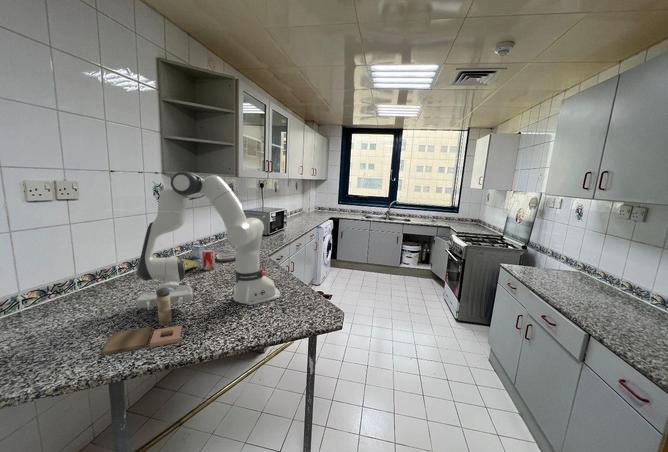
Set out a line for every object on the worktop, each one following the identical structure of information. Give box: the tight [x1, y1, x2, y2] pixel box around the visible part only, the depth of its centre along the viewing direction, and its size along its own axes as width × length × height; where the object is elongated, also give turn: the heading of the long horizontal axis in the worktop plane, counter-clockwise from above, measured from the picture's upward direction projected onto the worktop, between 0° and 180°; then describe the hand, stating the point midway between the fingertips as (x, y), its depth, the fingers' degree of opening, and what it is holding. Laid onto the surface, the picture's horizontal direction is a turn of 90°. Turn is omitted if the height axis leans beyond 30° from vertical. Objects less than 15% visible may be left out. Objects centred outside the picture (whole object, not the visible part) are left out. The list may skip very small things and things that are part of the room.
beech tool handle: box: [155, 288, 173, 326], centre depth 111 cm, size 4×4×14 cm
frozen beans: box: [181, 258, 203, 271], centre depth 171 cm, size 21×6×25 cm
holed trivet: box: [149, 325, 183, 348], centre depth 102 cm, size 9×9×2 cm
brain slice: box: [215, 250, 237, 263], centre depth 198 cm, size 20×17×3 cm
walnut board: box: [101, 326, 153, 356], centre depth 99 cm, size 12×12×1 cm
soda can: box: [201, 248, 216, 271], centre depth 174 cm, size 7×7×12 cm
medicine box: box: [191, 244, 205, 260], centre depth 196 cm, size 8×4×9 cm, turn 68°
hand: (163, 306), depth 110 cm, fingers open, 8 cm apart
